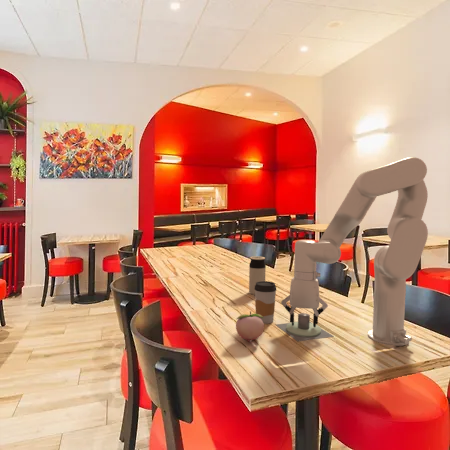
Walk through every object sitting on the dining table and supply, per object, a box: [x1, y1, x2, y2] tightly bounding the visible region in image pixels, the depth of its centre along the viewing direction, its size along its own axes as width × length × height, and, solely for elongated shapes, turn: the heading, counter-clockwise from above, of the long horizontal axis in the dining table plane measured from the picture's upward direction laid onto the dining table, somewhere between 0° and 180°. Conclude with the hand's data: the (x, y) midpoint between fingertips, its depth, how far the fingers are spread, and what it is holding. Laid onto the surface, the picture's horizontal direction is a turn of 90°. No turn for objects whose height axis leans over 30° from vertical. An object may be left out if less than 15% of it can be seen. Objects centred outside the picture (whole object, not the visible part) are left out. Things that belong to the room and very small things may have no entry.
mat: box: [275, 321, 335, 342], centre depth 125 cm, size 16×14×1 cm
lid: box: [286, 312, 322, 337], centre depth 124 cm, size 12×12×6 cm
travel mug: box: [248, 255, 267, 296], centre depth 175 cm, size 8×8×18 cm
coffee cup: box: [254, 280, 277, 325], centre depth 133 cm, size 8×8×15 cm
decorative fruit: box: [235, 311, 265, 342], centre depth 115 cm, size 9×8×10 cm
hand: (303, 324), depth 124 cm, fingers open, 6 cm apart
